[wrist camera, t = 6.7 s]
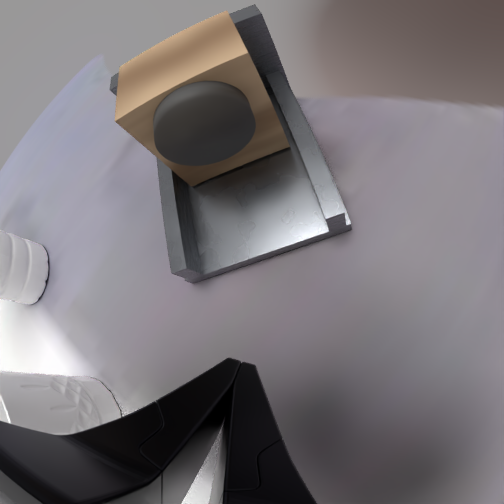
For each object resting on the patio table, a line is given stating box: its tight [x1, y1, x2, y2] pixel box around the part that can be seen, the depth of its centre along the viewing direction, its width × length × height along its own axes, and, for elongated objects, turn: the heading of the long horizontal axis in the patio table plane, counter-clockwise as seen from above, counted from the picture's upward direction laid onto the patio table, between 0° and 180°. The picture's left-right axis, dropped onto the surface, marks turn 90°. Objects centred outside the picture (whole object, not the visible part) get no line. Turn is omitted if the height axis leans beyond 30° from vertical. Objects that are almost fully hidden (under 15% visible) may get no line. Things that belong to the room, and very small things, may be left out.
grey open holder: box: [110, 5, 351, 283], centre depth 17 cm, size 13×10×8 cm
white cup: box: [0, 371, 121, 435], centre depth 15 cm, size 8×8×10 cm
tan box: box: [115, 11, 290, 187], centre depth 16 cm, size 6×7×8 cm
